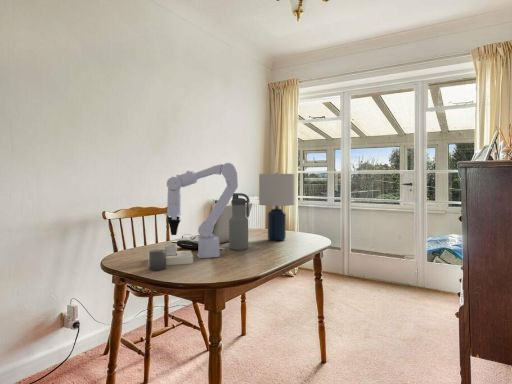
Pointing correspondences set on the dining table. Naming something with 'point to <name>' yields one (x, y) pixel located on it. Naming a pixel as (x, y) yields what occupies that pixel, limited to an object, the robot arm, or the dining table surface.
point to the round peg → (157, 260)
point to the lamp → (276, 201)
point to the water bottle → (239, 223)
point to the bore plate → (179, 258)
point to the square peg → (170, 250)
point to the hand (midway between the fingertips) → (173, 233)
